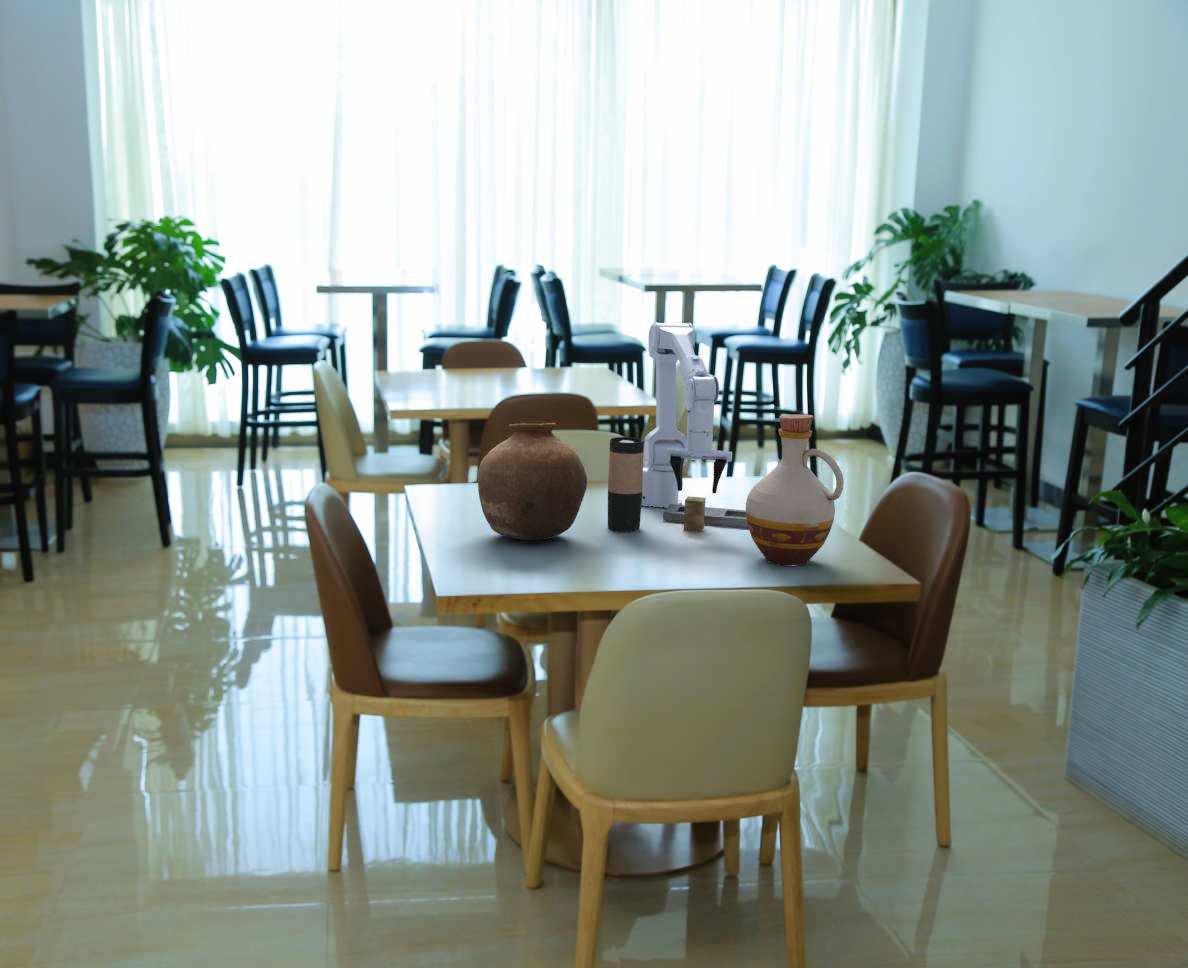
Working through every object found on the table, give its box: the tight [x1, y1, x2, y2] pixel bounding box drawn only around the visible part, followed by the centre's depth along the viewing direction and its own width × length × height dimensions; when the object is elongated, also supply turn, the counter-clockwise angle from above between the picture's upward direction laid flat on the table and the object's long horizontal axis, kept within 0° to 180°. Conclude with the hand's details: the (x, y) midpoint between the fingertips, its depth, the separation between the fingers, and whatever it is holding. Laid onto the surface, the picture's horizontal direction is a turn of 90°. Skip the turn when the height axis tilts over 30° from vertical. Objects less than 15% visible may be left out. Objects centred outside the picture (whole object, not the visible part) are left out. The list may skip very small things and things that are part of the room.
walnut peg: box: [683, 496, 706, 533], centre depth 265 cm, size 4×4×7 cm
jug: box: [745, 414, 845, 566], centre depth 238 cm, size 20×18×30 cm
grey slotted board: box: [662, 504, 749, 529], centre depth 274 cm, size 22×9×2 cm, turn 76°
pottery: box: [477, 422, 588, 541], centre depth 251 cm, size 23×23×25 cm
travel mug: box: [607, 436, 645, 533], centre depth 262 cm, size 8×8×20 cm
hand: (697, 491), depth 264 cm, fingers open, 7 cm apart
